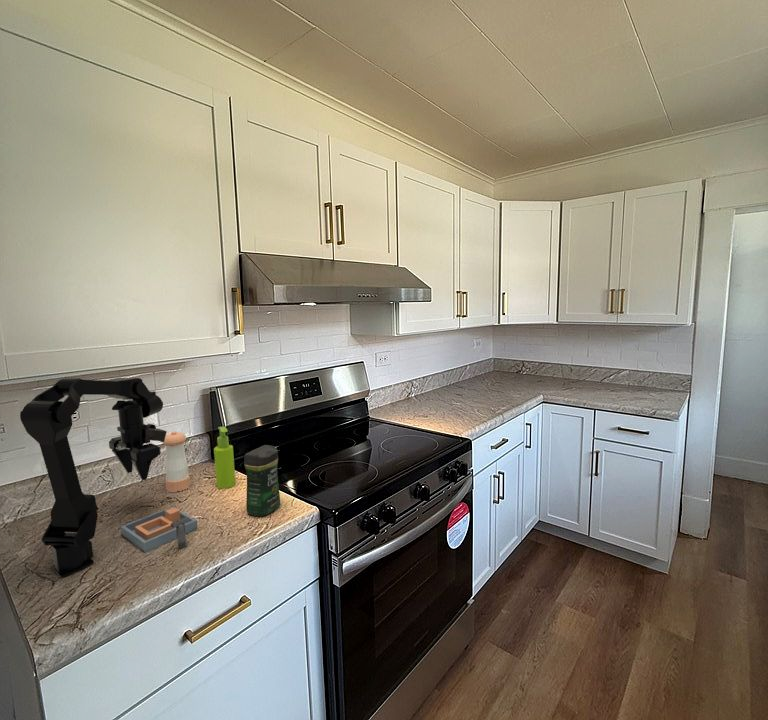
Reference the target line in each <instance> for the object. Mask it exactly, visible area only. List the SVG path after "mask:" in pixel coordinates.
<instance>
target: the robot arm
mask: <svg viewBox="0 0 768 720" xmlns="http://www.w3.org/2000/svg"><path fill="white" fill-rule="evenodd" d="M156 393H157V391H155V390H154V391H152V390H149V389H148V387H147V386H146V385H145V383H144V382H143V379H142V378H139V377H115V378H110V379H107V380H99V379H82V378H79V377H75V378H74V377H73V378H72V377H71V378H70V377H68V378H67V377H65V378H62V379H59V380H57V382H56V383H55V384H54V385H52V386H51V387H49V388H48V389H46V390H44V391H42V392H41V393H39V394H37V395H36V396H35V397H34V398H33V399H32V400H30V401H29V402H28V403H26V404H25V406H24V407H23V408H22V410H21V411H20V414H19V418H20V422H21V423H22V426H23V429H25V431H26V433H27V434H28V435H29V436H30V437H31V438H33V439H34V440H35V441H36V443H38V444H39V447H40V450H41V454H42V459H43V461H44V464H45V468H46V472H47V476H48V479H49V483H50V486H51V490H52V493H53V497H54V499H55V501H54V503H53V505H52V508H51V509H50V519H51V520H50V522H49V524H48V525H47V528H46V530H45V532H44V533H43V535H42V537H41V542H42V544H43V546H51V550H52V551H51V552H52V559H53V564H52V565H51V569H52V570H53V571H54V572H55V573H56V574H57V576H59V578H65V577H66V576H68V575H70V574H74V573H75V572H78V571H81V570H82V569H85V568H87V567H89V566H92V565H94V563H95V561H94V560H93V558H94V551H93V543H92V541H91V540H92V539H93V538H95V536H96V527H97V524H98V517H99V515H98V510H99V509H100V508H99V507H98V506H97V501H96V500H97V499H96V496H95V495H94V494H86V493H84V492H83V491H82V488H81V483H80V480H79V476H78V473H77V468H76V465H75V461H74V458H73V453H72V450H71V446H70V442H69V439H68V435H69V433H70V431H71V428H72V426H73V417H72V416H73V415H74V414H75V413H76V411H78V409H79V408H80V404H81V398H82V397H83V395H87V396H88V395H89V396H90V395H91V396H92V395H94V396H95V395H101V396H103V395H104V396H107V397H109V398H113V399H118V400H117V401H116V403H115V404H114V405H113V406H112V407H111V410H112V411H117V412H118V422H119V426H117V427H116V429H117V430H116V431H118V432H119V433H120V436H117V437H111V439H110V440H109V441H108V447H109V449H111V453H112V454H114V456H115V457H116V458H117V460H118V461H119V463H120V464H121V466H122V467H123V469H124V470H125V471H126V472H127V473H128V474H130V473H132V472H133V467H135V470H136V471H137V474H138V475H139V477H140V479H141V480H142V481H146V480H147V478H148V475H149V472H150V468H151V464H152V462H153V460H154V459H156V458H158V457H159V456H160V455H162V453H161V447H160V446H158V445H156V444H154V443H152V441H156V442H160V443H163V442H164V440H165V437H166V435H167V432H168V431H167V430H164V429H161V428H159V427H156V425H155V424H154V423H153V424H152V423H147V424H146V423H144V418H148V417H150V416H152V415H156V414H157V413H160V412H161V411H162V410H163V407H164V402H163V400H162V399H161V397H160V396H158V395H157V394H156ZM65 396H66V398H65V399H64V400H62V399H63V398H64V397H65ZM61 400H62V401H61Z"/></svg>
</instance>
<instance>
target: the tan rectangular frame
mask: <svg viewBox="0 0 768 720" xmlns="http://www.w3.org/2000/svg"><path fill="white" fill-rule="evenodd" d="M180 511H181V510H180V509H178V508H176V507H174V508H171V509H169V510H166V511H165V517H163V516H160V517H158V518H155V519H153V520H150V521H148V522H145V523H143V524H140V525H138V526H136V527H135V534H137V535H138V536H140V537H141V538H143V539H144V540H145V541H147V540H149V539H151V538H154V537H156V536H158V535H161V534H163V533H165V532H168V531H170V530H172V529H174V528H175V527H174V528H173V527H171V523H173V522H175V521H178V520H180ZM160 525H161V526H162V527H161V528H158V529H156V530H153V531H151V532H148V530H151V529H153V528H156V527H158V526H160Z"/></svg>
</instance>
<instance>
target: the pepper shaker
mask: <svg viewBox="0 0 768 720" xmlns="http://www.w3.org/2000/svg"><path fill="white" fill-rule="evenodd" d="M186 441H187V436H186V435H185V434H184V433H182V432H177V431H176V430H174V431H171V432H170V433H168V434H166V437H165V440H164V442H162V444H163V446H165V456H166V459H165V476H166V478H165V490H167V491H166V492H168V491H169V492H168V493H178V492H177V491H180V492H183V491H186V490H187V488H188V487H189V486H190V484H191V477H190V474H189V465H188V461H187V458H186V453H185V452H186V449H185V443H186ZM190 487H191V486H190ZM190 487H189V488H190ZM189 488H188V489H189ZM185 489H186V490H185ZM182 490H183V491H182Z"/></svg>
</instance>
